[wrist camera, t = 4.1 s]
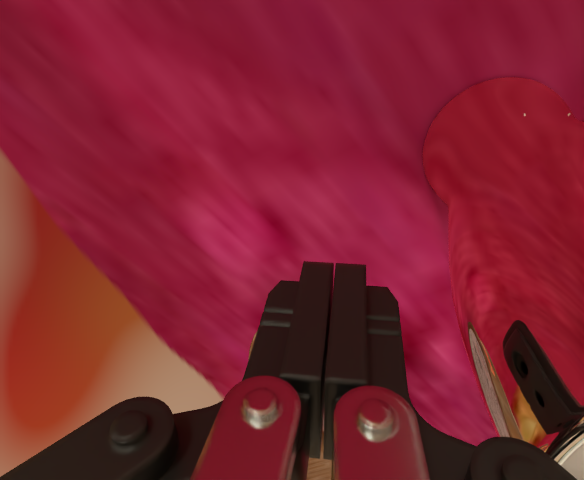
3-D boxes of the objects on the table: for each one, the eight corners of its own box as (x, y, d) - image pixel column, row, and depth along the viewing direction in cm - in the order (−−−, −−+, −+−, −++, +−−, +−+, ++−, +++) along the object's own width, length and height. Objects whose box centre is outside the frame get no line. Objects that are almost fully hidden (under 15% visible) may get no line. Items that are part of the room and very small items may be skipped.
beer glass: (585, 194, 19) (1026, 612, 7) (429, 232, 21) (534, 605, 9) (577, 36, 16) (1392, 252, 3) (395, 99, 18) (479, 379, 5)
